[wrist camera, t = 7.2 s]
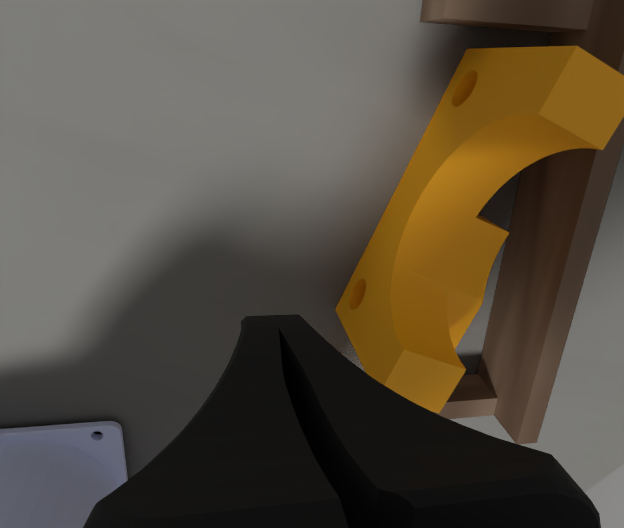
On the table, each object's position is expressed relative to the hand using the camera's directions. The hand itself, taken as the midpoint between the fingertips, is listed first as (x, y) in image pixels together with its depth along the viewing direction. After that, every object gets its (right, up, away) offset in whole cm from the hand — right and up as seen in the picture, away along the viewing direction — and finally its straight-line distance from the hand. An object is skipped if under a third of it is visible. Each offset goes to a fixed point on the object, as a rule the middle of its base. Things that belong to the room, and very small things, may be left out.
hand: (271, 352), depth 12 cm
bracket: (+7, +4, +10) cm, 13 cm away
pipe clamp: (+6, +5, +10) cm, 13 cm away
